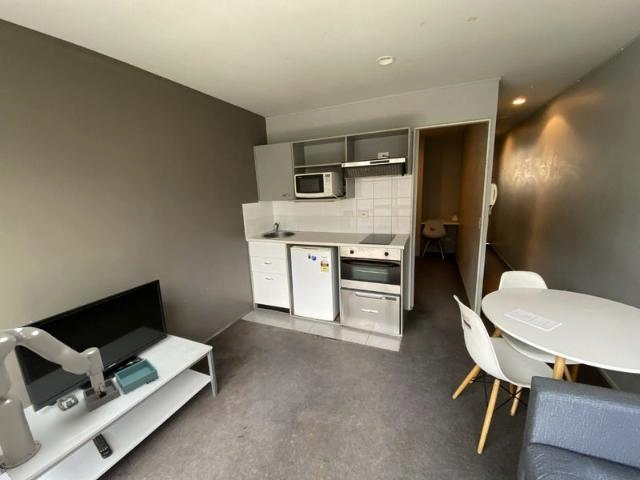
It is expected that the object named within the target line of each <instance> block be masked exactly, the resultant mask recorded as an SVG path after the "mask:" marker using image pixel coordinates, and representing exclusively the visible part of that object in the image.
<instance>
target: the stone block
mask: <svg viewBox="0 0 640 480" xmlns="http://www.w3.org/2000/svg"><path fill="white" fill-rule="evenodd" d="M102 387H103V386H102ZM99 389H100V388H99ZM104 389H105V391H106V394H107V390H106V387H104ZM100 391H101V390H100ZM107 395H108V394H107ZM96 396H97V398H98V399H100V398H99V392H98V391H96Z"/></svg>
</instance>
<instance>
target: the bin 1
mask: <svg viewBox="0 0 640 480" xmlns="http://www.w3.org/2000/svg"><path fill="white" fill-rule="evenodd" d="M104 382H105V387H106V390H107V394H108V395H106V396H104V397H102V398H100V399H98V398H97V396H96V392H95V391H94V389H93V387H92V386H91V387H90V388H87V389H85V390H83V391H82V394H83V398H84V401H85V402H86V404H87V407H88V409H89V412H92V411H95V410H96V409H98V408H100V407H102V406H104V405H106V404H107V403H109V402H111V401H113V400H115V399H116V398H119V397H121V391H120V389H119V387H118V385H117V384H116V383H115V381H114V379H113V377H110V378H109V379H108V378H107V379H106V380H104Z"/></svg>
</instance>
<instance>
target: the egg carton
mask: <svg viewBox="0 0 640 480" xmlns="http://www.w3.org/2000/svg"><path fill="white" fill-rule="evenodd" d="M70 398H71V399H70ZM69 399H70V400H69ZM72 400H73V401H72ZM56 401H57V404H58V406H59V408H60V409H61V410H63V411H64V410H65V411H67V410H69V409H70V407H72V406H76V405H77V404H78V403H79V398H78V397H77V395H76V394H75V393H72V394H69V395H68V396H65V398H60V399H57V400H56ZM63 402H65V403H66V407H65V405H64V404H63Z"/></svg>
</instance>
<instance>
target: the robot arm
mask: <svg viewBox="0 0 640 480" xmlns="http://www.w3.org/2000/svg"><path fill="white" fill-rule="evenodd" d="M16 346H21V347H22V346H23V347H25V348H27V349H29V350H30V351H32V352H33V353H36V354H37V355H39V356H40V357H42V358H43V359H45V360H47V361H49V362H52V363H55V364H58V365H60V366H61V367H62V368H61V369H63V370H64V371H66V372H70V373H73V374H75V375H83V374H86V375H87V377H89V380H90V383H91V387H93V389H94V391H95V392H96V391H98V392H99V398H102V397H104V396H106V395H107V394H106V391H105V389H104V387H105V382H104V381H105V379H104V374H103V371H104V369H105V368H104V365H103V360H102V357H101V353H100V350H99V348H98V347H90V348H87V349H85V350H84V351H83V352H78V351H76V350H75V349H73V348H71V347H70V346H68V345H67V344H65V343H63V342H62V341H60V340H58V339H57V338H56V337H54V336H52V334H50V333H49V332H47V331H45V330H44V329H40V328H38V327H34V326H33V327H32V326H25V327H24V326H23V327H16V328H15V327H14V328H8V329H0V448H1V451H2V455H0V465H1V467H2V468H3V467H5V468H4V469H6V468H8V469H12V468H15V467H18V466H20V465H22V464H24V463H26V462H27V461H29V460H30V459H31V458H33V457H34V456H35V455H36V454H37V453H38V452H39V451H40V449H41V447H42V443H41V441H40V440H37V439H34V436H33V433H32V430H31V427H30V425H29V422H28V420H27V417H26V413H25V408H24V407H25V406H24V402H23V400H22V399H21V398H20V397H18V395H17V396H16V395H15V394H12V393H10V392H9V391H10V390H11V388H12V379H11V376H10V375H9V372H8V369H7V367H6V363H5V361H6V358H7V357H8V356H9V354H10V353H11V352H12V351H13V350H14V349H15V348H16ZM102 386H103V387H102ZM99 388H100V389H99ZM100 390H101V391H100Z"/></svg>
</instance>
